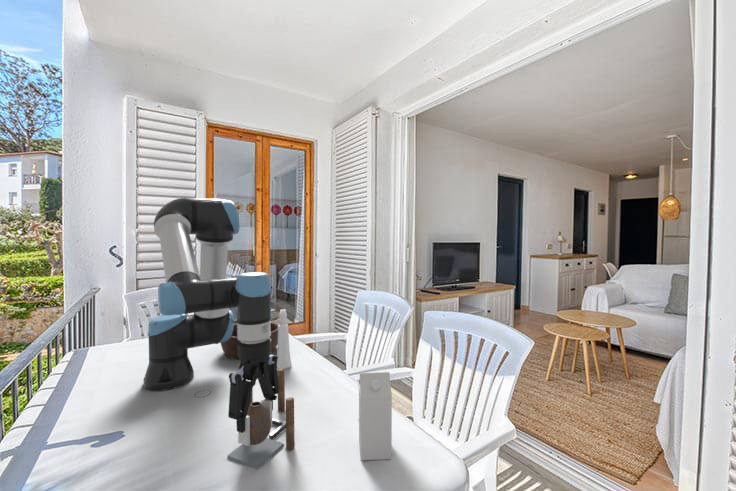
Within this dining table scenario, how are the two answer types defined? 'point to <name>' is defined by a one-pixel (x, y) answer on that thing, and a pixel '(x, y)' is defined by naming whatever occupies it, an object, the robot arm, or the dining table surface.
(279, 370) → the posts
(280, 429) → the grey l-shaped bracket
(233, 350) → the wooden bowl
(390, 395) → the milk carton
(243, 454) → the pad
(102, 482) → the dining table surface
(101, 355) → the dining table surface
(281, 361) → the cosmetic bottle
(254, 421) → the vase
